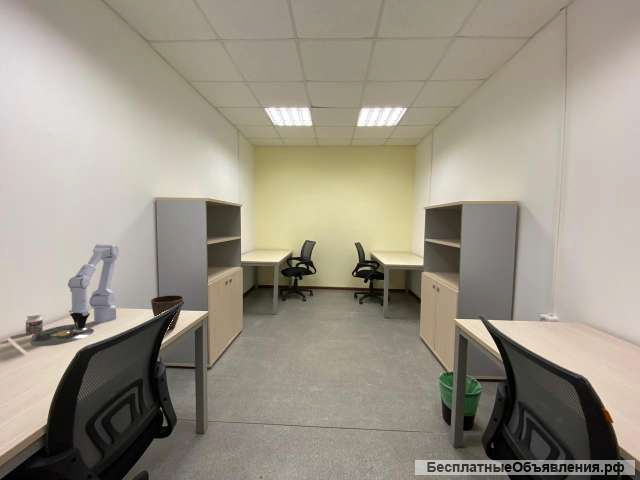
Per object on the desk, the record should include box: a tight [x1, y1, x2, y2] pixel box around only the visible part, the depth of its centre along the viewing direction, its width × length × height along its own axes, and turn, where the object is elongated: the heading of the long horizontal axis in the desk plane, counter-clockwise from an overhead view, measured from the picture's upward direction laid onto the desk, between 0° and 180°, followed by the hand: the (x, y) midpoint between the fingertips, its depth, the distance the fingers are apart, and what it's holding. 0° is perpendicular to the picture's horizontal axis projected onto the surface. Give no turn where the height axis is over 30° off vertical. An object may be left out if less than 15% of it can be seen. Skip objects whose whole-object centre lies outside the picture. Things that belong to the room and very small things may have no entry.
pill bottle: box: [25, 312, 44, 336], centre depth 133 cm, size 6×6×10 cm
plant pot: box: [150, 294, 184, 331], centre depth 144 cm, size 15×15×16 cm
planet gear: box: [73, 321, 89, 334], centre depth 134 cm, size 6×6×6 cm
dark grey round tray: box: [30, 323, 95, 347], centre depth 129 cm, size 22×22×3 cm
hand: (80, 327), depth 134 cm, fingers closed on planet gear, 3 cm apart
